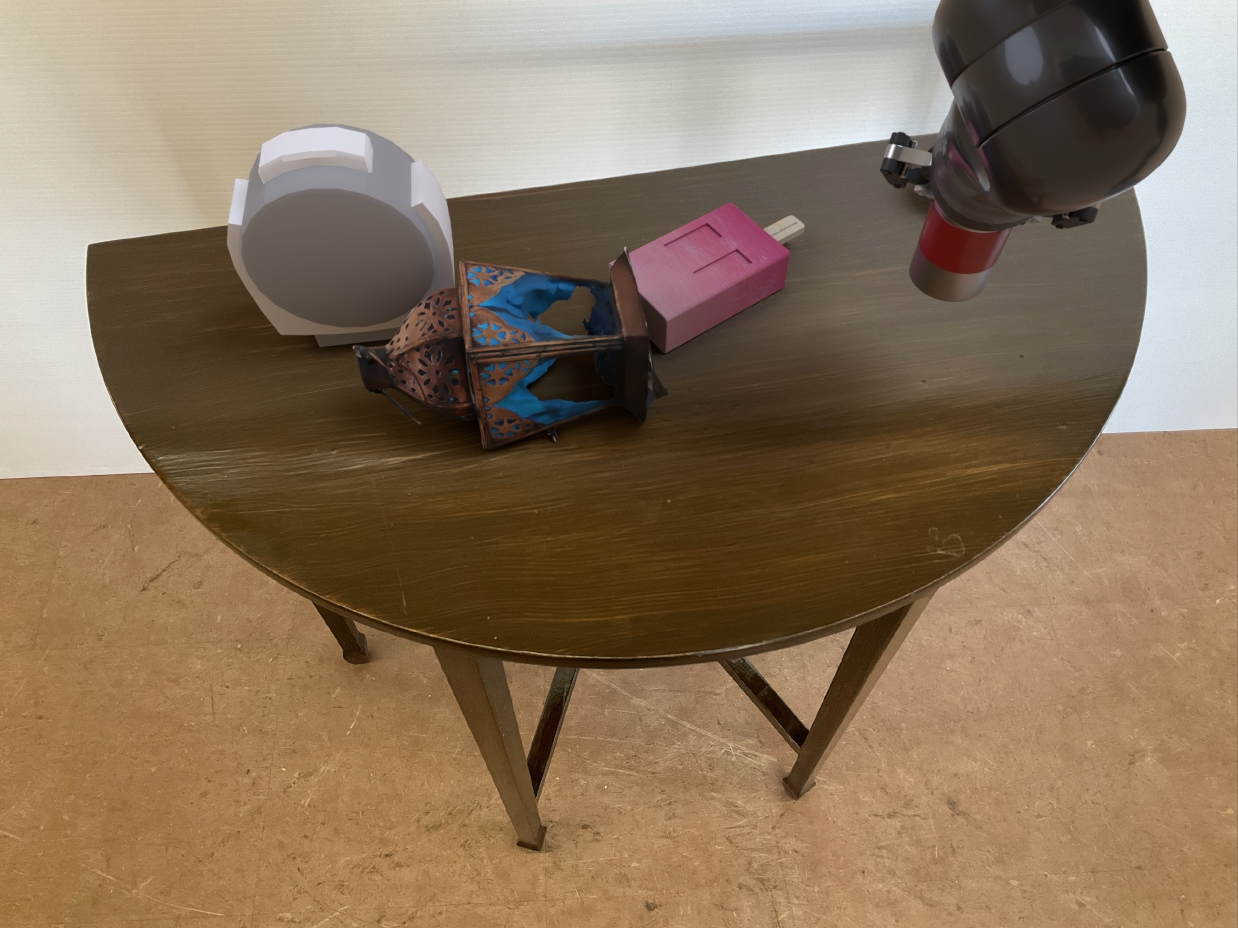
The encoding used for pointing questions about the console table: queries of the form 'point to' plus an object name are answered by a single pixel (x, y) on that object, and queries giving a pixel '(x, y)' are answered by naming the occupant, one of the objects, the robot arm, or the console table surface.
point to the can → (954, 257)
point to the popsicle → (709, 272)
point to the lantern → (514, 350)
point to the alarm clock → (339, 234)
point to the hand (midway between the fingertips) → (976, 198)
